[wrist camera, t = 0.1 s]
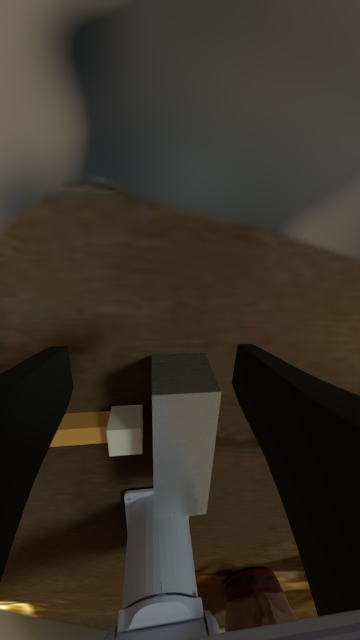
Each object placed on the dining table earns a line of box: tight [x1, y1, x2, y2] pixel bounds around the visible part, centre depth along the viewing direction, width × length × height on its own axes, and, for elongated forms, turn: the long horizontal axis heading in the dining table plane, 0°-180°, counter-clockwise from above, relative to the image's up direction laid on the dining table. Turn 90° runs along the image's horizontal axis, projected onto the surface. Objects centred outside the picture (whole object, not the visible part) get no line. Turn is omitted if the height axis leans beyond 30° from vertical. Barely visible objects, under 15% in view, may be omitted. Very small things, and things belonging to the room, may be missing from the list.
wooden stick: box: [50, 405, 143, 456], centre depth 22 cm, size 17×3×3 cm, turn 88°
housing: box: [152, 353, 221, 520], centre depth 22 cm, size 15×5×5 cm, turn 178°
